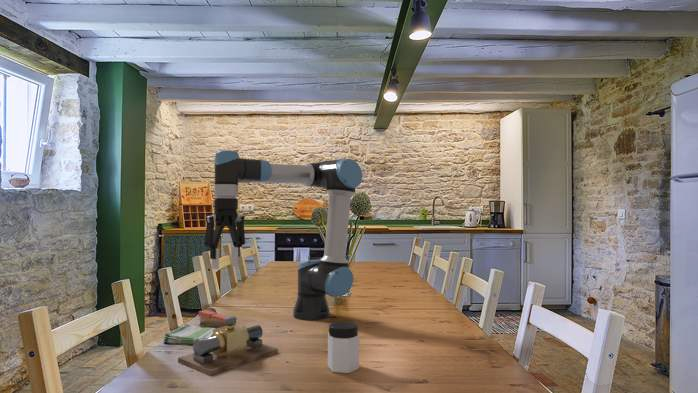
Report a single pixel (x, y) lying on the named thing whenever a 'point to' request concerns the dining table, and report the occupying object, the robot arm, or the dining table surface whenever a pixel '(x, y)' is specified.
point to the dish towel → (188, 334)
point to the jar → (343, 347)
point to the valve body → (227, 342)
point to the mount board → (228, 360)
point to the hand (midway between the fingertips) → (225, 267)
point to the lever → (218, 317)
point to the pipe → (210, 321)
